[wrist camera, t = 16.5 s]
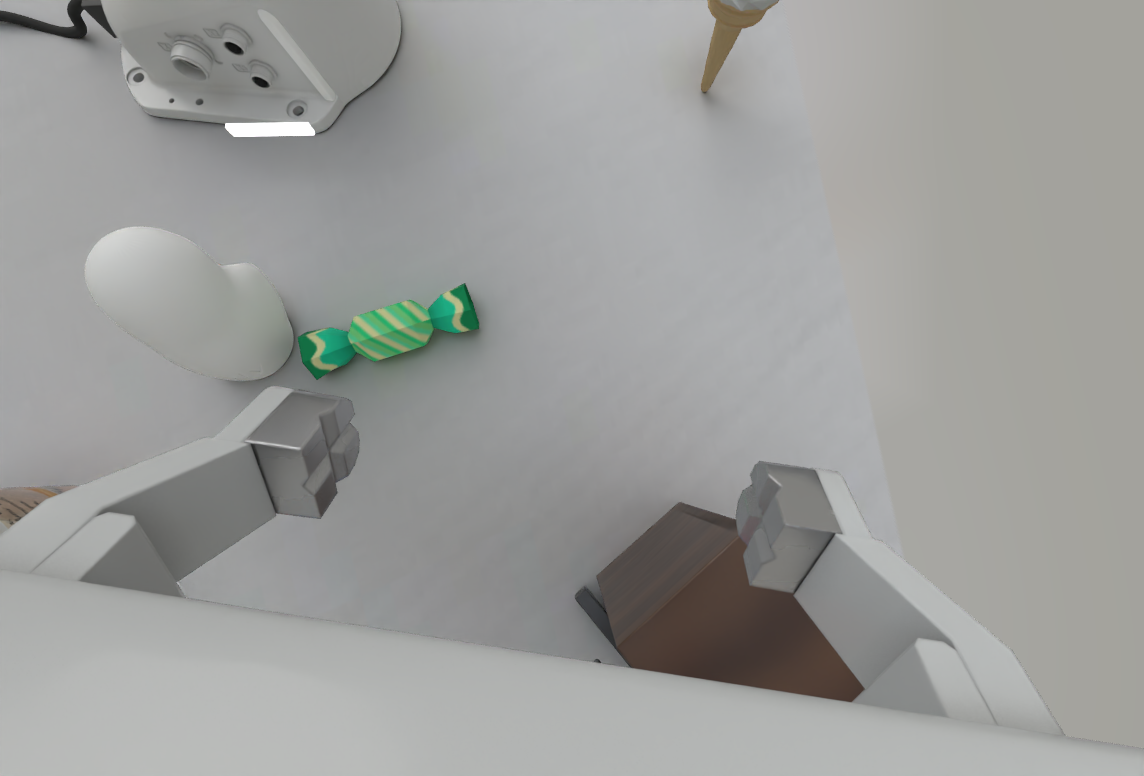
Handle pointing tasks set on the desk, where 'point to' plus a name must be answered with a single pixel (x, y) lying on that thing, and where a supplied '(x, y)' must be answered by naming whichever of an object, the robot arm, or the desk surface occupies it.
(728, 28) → the ice cream cone
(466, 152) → the desk surface
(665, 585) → the cupboard
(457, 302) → the candy
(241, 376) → the white pill-shaped post
